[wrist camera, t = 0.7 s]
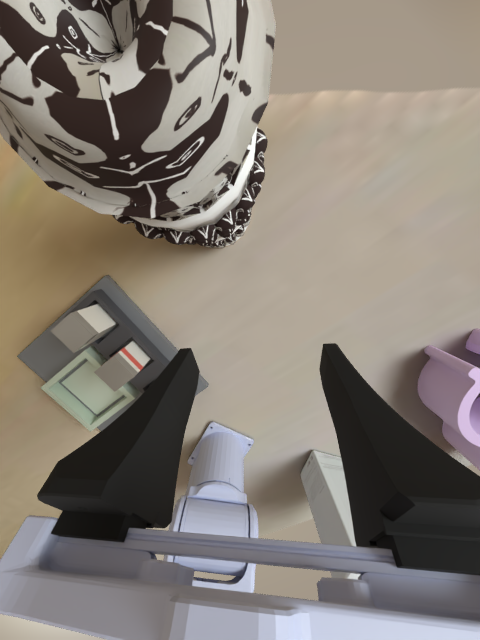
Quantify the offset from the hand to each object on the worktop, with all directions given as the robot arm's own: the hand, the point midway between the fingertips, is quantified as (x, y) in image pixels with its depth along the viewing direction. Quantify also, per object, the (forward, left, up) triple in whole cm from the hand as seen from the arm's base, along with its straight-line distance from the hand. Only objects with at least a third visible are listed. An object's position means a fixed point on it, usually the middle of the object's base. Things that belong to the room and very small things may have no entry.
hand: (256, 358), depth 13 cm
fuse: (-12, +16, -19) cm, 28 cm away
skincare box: (-20, -26, -20) cm, 38 cm away
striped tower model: (+7, +9, -20) cm, 23 cm away
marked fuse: (-15, +10, -19) cm, 26 cm away
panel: (-19, +12, -19) cm, 30 cm away
